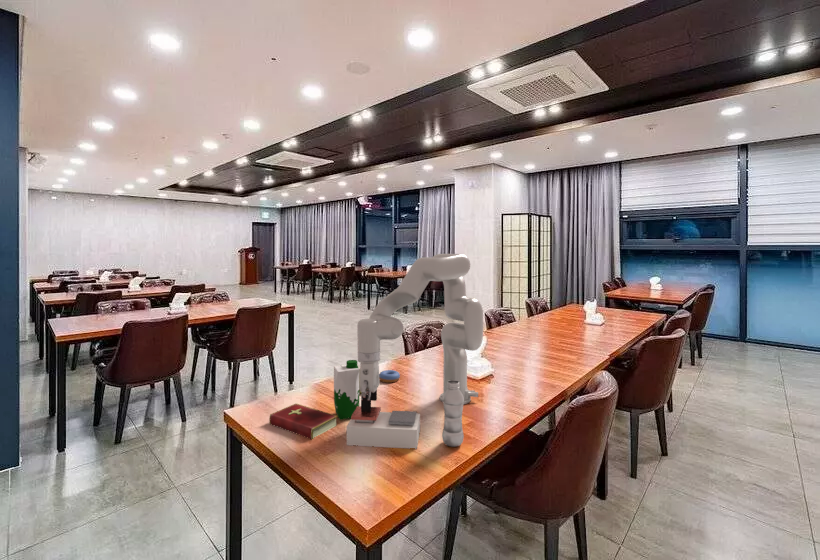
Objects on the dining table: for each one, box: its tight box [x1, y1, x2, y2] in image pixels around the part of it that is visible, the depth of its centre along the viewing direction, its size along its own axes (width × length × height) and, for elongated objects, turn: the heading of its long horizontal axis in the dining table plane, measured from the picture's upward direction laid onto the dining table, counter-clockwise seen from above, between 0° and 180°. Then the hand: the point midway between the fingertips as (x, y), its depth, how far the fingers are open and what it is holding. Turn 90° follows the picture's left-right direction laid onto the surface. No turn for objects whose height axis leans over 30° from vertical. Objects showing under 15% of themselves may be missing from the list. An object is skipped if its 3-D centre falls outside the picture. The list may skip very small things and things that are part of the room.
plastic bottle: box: [441, 380, 465, 448], centre depth 120 cm, size 6×7×20 cm
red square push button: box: [350, 405, 382, 423], centre depth 126 cm, size 8×8×6 cm
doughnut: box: [379, 369, 401, 384], centre depth 182 cm, size 10×10×5 cm
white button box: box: [346, 411, 421, 450], centre depth 125 cm, size 22×12×6 cm, turn 84°
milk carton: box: [333, 359, 360, 421], centre depth 142 cm, size 9×9×20 cm
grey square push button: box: [389, 410, 418, 425], centre depth 124 cm, size 8×8×6 cm
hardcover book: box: [269, 403, 338, 440], centre depth 135 cm, size 12×21×4 cm, turn 58°
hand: (369, 405), depth 130 cm, fingers open, 9 cm apart
